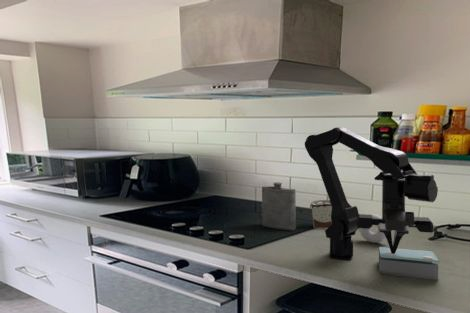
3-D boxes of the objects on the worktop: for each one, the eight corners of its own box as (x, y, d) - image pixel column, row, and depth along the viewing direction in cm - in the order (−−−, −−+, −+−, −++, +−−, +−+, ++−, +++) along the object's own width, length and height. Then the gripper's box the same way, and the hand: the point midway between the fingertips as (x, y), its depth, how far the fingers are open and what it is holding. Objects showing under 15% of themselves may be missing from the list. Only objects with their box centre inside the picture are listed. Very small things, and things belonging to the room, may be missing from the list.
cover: (380, 257, 100) (380, 253, 100) (379, 248, 109) (379, 245, 109) (439, 262, 95) (439, 258, 95) (432, 253, 104) (432, 250, 104)
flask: (292, 231, 141) (292, 184, 139) (260, 226, 149) (259, 181, 147) (296, 229, 144) (296, 183, 142) (264, 223, 152) (264, 180, 150)
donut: (356, 241, 128) (357, 213, 127) (359, 238, 131) (360, 211, 130) (387, 246, 122) (387, 217, 121) (389, 243, 125) (390, 214, 124)
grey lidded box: (380, 273, 101) (380, 259, 100) (378, 261, 109) (378, 248, 109) (437, 280, 96) (438, 265, 96) (431, 267, 105) (431, 253, 104)
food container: (336, 223, 151) (336, 199, 150) (341, 227, 145) (341, 202, 144) (306, 224, 150) (306, 200, 149) (310, 228, 144) (310, 203, 143)
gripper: (357, 201, 96) (356, 260, 97) (437, 204, 90) (436, 267, 91) (357, 194, 106) (357, 247, 107) (429, 196, 100) (429, 253, 101)
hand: (393, 253), depth 101 cm, fingers closed, pressing on cover
